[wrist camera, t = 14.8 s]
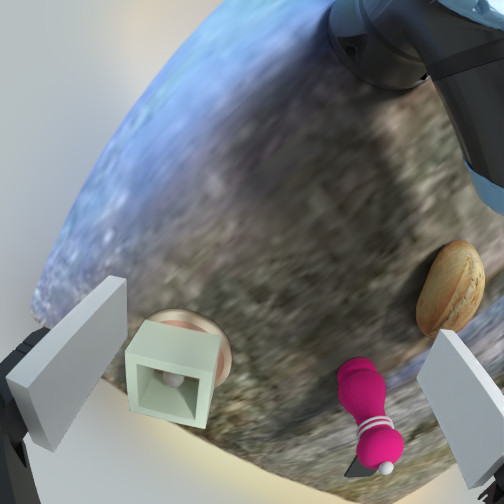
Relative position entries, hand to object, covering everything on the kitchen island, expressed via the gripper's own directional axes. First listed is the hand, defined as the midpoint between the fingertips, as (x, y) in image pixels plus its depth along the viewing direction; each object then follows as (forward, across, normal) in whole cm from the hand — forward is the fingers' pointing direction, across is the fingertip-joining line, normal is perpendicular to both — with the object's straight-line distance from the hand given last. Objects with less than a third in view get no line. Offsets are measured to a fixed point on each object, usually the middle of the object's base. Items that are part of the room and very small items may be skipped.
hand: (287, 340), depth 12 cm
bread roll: (+29, +26, -6) cm, 39 cm away
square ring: (+26, -10, -24) cm, 37 cm away
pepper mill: (+29, +18, -23) cm, 41 cm away
